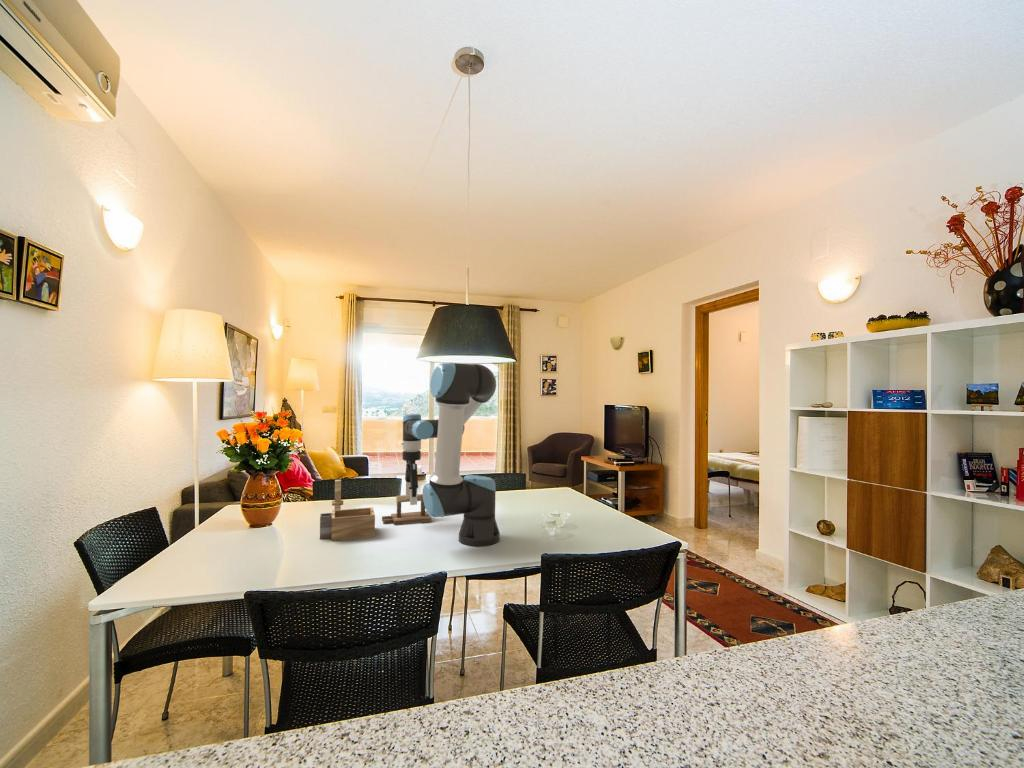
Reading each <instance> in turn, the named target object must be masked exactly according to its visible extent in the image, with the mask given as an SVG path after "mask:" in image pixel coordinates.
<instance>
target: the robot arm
mask: <svg viewBox="0 0 1024 768" xmlns="http://www.w3.org/2000/svg"><path fill="white" fill-rule="evenodd" d="M429 383H430V384H429V386H430V387H429V388H430V394H431V395H432V397H433V398H435V403H436V404H437V405H438V406H439V410H438V419H422V416H421V414H419V413H405V414H403V416H402V442H401V446H402V450H403V451H402V460H403V461H405V462H406V465H405V466H406V467H405V477H404V480H405V495H410V502H409V505H410V506H417V505H418V501H417V494H418V489H419V479H418V464H417V463H416V461H420V460H421V457H422V456H421V455H422V453H421V449H422V440H427V439H436V449H435V450H436V451H435V463H434V465H435V466H434V472H433V473H432V474H431V475H430V477H429V483H426V484H424V485H423V487H422V494H423V501H424V505H425V511H427V513H428V514H429V516H430V517H431V518H439V517H440V518H445V517H450V516H457V515H463V518H462V519H463V520H462V523H461V525H460V529H459V531H458V542H459V543H461V544H463V545H466V546H473V547H481V546H482V547H485V546H490V545H491V546H492V545H494V544H497V543H499V541H500V540H501V537H500V536H501V534H500V530H499V527H498V523H497V520H496V492H497V489H496V488H497V487H496V482H495V479H493V478H491V477H488V476H483V475H475V474H467V475H465V476H463V477H462V475H461V474H460V468H461V456H462V455H461V454H462V443H463V441H462V440H463V435H464V432H465V424H466V423H467V422H468V421H469V419H471V417H473V415H474V413H476V411H477V410H478V409H479V408H480V407H481V406H482V405H483V404H485V403H487V402H489V401H490V400H491V399H492V397H493V396H494V395H495V393H496V388H497V380H496V376H495V374H494V373H493V372H492V370H491V369H490V368H488V367H487V366H485V365H483V364H480V363H460V362H457V363H456V362H443V363H440V364H437V366H435V368H434V369H433V371H432V374H431V376H430V382H429Z"/></svg>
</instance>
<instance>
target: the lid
mask: <svg viewBox="0 0 1024 768" xmlns="http://www.w3.org/2000/svg"><path fill="white" fill-rule="evenodd" d="M395 497H396V499H395V500H396V512H395V513H391V514H390V515H384V516H381V521H382V524H383V525H386V524H387V525H388V524H393V525H394V526H397V525H398V526H399V525H411V524H422V523H432V517H431V516H430V515H429V514H428V512H427V511H426V508H425V505H424V501H423V493H419V494H418V493H417V502H420V511H412V512H411V511H410V512H402V503H408V502H409V503H410V495H406V494H402V495H401V494H399V495H396V496H395Z"/></svg>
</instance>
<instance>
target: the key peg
mask: <svg viewBox="0 0 1024 768" xmlns="http://www.w3.org/2000/svg"><path fill="white" fill-rule="evenodd" d="M343 505H344V499H342V479H335V480H334V500H332V501H331V506H332V507H333V506H334V510H342V509H341V507H342V506H343Z"/></svg>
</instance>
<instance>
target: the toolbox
mask: <svg viewBox="0 0 1024 768" xmlns="http://www.w3.org/2000/svg"><path fill="white" fill-rule="evenodd" d="M375 529H376V514H375V510H374V507H373V506H372V507H362V508H361V507H359V508H350V509H349V508H348V509H347V508H346V509H341V510H335V509H333V510H331V512H324V513H320V516H319V540H322V539H323V540H324V539H325V540H326V539H331V542H336V541H344V540H355V539H356V540H357V539H365V538H366V539H367V538H374V537H376V536H375V534H376V530H375Z"/></svg>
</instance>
